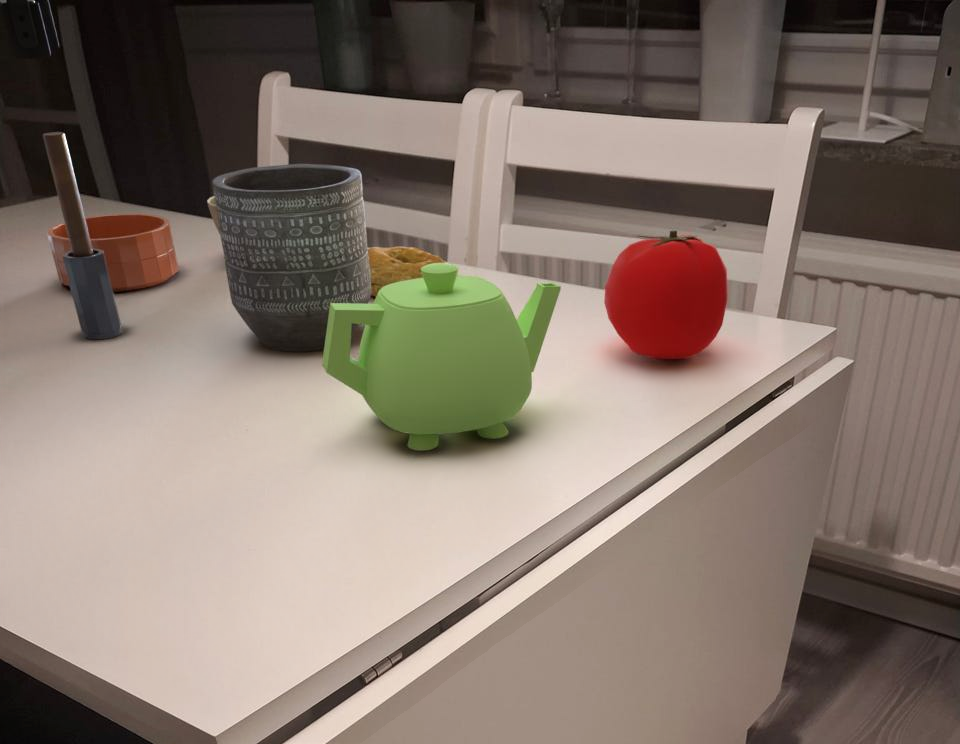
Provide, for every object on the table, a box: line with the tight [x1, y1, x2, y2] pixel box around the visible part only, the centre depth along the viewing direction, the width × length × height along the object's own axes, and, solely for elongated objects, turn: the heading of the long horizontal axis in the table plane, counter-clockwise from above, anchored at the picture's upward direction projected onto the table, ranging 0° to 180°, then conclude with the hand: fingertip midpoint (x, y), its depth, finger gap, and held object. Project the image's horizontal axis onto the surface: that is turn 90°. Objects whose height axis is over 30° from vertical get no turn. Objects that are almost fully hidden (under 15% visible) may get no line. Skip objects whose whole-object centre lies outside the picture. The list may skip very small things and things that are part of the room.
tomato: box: [603, 230, 729, 360], centre depth 95 cm, size 12×12×11 cm
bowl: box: [46, 213, 179, 293], centre depth 123 cm, size 14×14×6 cm
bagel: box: [367, 245, 446, 298], centre depth 116 cm, size 10×11×5 cm
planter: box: [211, 163, 372, 353], centre depth 100 cm, size 14×14×15 cm
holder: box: [62, 249, 123, 341], centre depth 105 cm, size 4×4×8 cm
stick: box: [42, 131, 94, 257], centre depth 101 cm, size 2×2×18 cm
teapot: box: [321, 262, 562, 451], centre depth 81 cm, size 20×13×13 cm
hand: (38, 54), depth 94 cm, fingers open, 9 cm apart
